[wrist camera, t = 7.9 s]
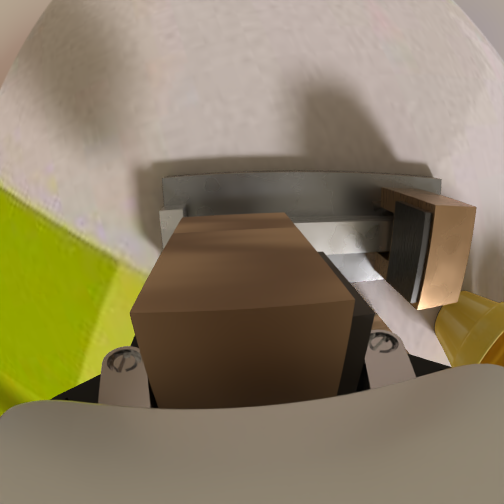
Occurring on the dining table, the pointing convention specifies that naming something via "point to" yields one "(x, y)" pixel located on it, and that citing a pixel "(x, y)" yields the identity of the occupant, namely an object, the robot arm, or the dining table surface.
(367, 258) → the rail
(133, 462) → the robot arm
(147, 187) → the dining table surface
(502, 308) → the plant pot
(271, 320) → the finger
